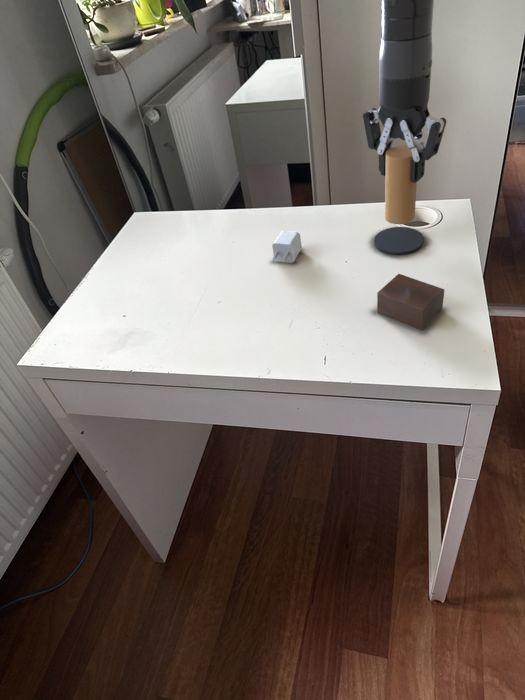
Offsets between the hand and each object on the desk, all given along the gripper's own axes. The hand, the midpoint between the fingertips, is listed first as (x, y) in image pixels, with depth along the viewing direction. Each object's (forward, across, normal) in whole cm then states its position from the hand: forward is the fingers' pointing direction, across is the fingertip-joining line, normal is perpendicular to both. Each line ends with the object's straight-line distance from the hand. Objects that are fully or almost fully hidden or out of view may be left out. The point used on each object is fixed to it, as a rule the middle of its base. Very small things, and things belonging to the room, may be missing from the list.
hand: (400, 177), depth 89 cm
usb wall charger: (+13, -15, -15) cm, 25 cm away
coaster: (+13, 0, 0) cm, 13 cm away
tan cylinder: (+6, 0, +4) cm, 7 cm away
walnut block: (+13, +12, -16) cm, 24 cm away
